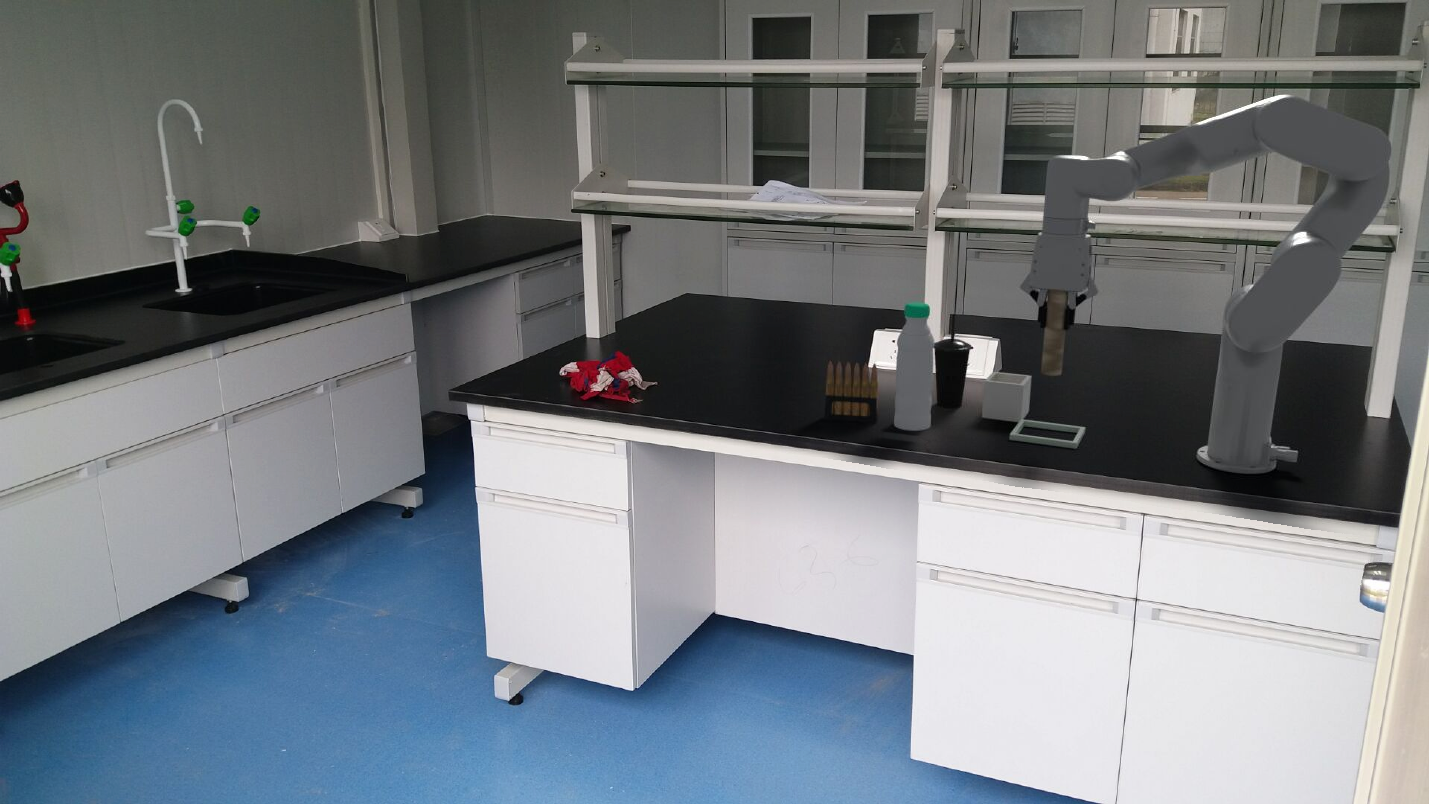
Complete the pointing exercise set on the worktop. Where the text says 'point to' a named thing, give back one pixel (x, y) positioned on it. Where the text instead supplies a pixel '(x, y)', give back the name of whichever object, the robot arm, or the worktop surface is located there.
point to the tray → (1047, 441)
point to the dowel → (1054, 333)
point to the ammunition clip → (851, 395)
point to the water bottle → (914, 370)
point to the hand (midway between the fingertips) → (1055, 326)
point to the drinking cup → (951, 369)
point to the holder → (1006, 396)
